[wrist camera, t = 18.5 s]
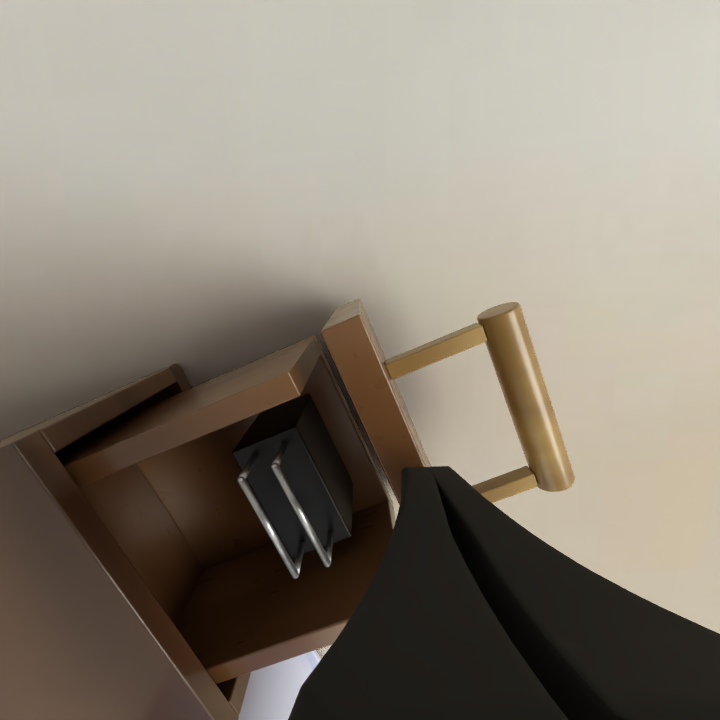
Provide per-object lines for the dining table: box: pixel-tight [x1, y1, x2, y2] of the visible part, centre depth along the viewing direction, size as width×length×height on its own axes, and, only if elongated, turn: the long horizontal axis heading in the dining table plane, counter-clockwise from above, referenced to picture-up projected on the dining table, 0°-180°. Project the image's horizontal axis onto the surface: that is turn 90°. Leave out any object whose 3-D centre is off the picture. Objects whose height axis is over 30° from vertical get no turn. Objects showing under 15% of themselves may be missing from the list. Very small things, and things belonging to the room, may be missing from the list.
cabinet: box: [0, 364, 251, 720], centre depth 15 cm, size 15×12×9 cm
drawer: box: [56, 299, 575, 684], centre depth 14 cm, size 18×11×7 cm, turn 113°
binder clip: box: [232, 394, 353, 579], centre depth 14 cm, size 3×5×5 cm, turn 23°
